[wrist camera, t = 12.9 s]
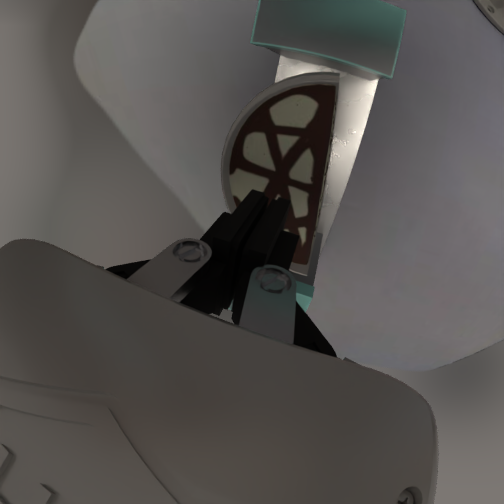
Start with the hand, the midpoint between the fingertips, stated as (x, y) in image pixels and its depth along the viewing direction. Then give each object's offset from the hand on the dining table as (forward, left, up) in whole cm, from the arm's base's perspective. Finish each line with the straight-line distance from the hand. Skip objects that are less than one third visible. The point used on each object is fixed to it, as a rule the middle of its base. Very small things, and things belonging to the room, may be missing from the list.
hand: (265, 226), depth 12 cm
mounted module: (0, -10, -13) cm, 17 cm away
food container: (+1, -1, -14) cm, 14 cm away
